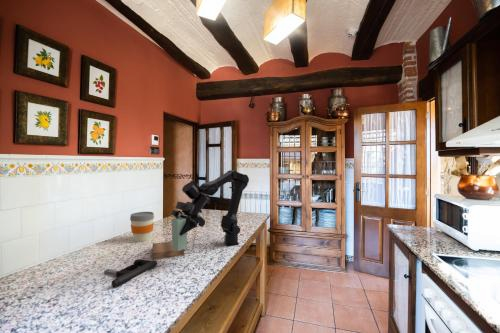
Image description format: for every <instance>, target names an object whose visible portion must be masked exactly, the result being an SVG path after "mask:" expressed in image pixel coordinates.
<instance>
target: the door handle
mask: <svg viewBox="0 0 500 333" xmlns="http://www.w3.org/2000/svg"><path fill="white" fill-rule="evenodd" d="M157 265H158V262H157V259H154V260H153V259H152V260H147V259H142V258H138V259H135V260H134V262H133V264H130V265H128V266H126V267H124V268H122V269H120V270H114V269H109V268H107V269H105V270H103V274H104V275H106V276H110V277H111V276H112V277H113V278H115V279H113V280H111V286H112V287H113V288H118V287H121V286H123V285H124V284H126V283H128V282H132V281H133V280H135V279H137V278H139V277H141V276H143V275H145V274H146V273H148V272H149V271H150V270H152V269H155V267H157Z"/></svg>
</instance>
